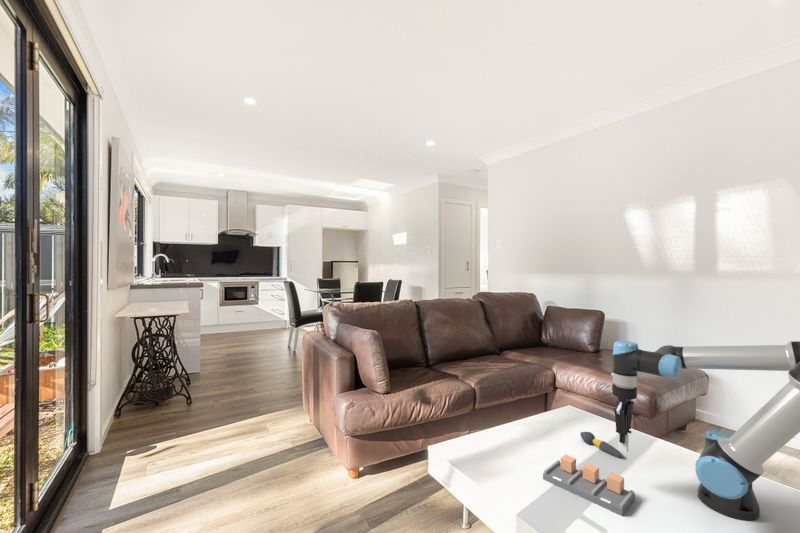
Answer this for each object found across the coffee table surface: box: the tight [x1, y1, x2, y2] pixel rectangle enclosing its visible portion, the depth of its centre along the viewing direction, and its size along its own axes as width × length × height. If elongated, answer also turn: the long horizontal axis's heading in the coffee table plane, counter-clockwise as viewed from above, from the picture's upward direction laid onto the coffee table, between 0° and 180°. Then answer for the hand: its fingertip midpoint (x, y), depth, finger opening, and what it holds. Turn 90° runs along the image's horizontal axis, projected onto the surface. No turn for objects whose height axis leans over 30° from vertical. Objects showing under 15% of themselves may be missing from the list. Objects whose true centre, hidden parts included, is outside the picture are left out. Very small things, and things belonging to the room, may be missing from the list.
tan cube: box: [560, 454, 577, 473], centre depth 137 cm, size 4×4×4 cm
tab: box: [606, 472, 625, 494], centre depth 125 cm, size 4×4×4 cm
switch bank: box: [542, 459, 636, 517], centre depth 128 cm, size 26×12×3 cm, turn 41°
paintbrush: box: [580, 431, 624, 459], centre depth 157 cm, size 20×5×5 cm, turn 32°
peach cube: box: [582, 462, 600, 483], centre depth 131 cm, size 4×4×4 cm
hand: (623, 450), depth 131 cm, fingers closed
